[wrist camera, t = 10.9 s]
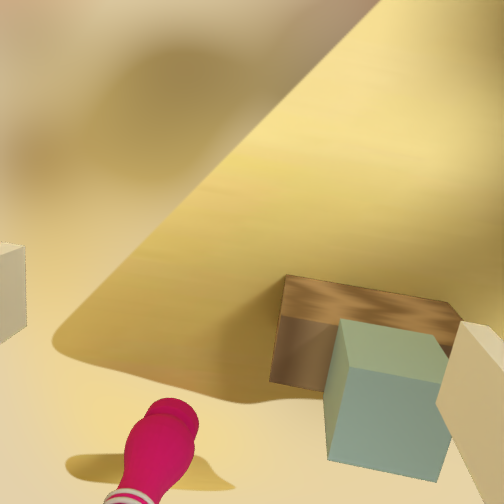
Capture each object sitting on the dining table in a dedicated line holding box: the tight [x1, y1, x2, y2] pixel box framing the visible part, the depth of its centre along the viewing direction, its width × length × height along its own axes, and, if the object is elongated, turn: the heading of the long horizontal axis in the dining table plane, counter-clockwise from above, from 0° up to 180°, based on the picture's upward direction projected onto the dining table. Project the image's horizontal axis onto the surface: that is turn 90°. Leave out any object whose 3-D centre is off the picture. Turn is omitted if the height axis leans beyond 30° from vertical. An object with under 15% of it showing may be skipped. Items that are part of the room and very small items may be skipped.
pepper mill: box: [103, 398, 199, 504], centre depth 39 cm, size 7×7×20 cm
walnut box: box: [269, 275, 463, 392], centre depth 37 cm, size 16×6×10 cm, turn 82°
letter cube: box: [323, 318, 452, 483], centre depth 29 cm, size 7×7×7 cm
